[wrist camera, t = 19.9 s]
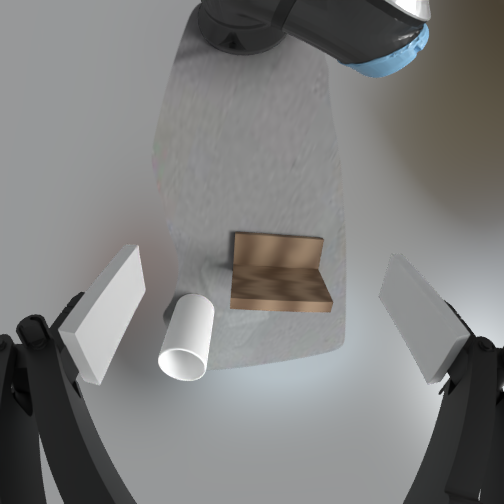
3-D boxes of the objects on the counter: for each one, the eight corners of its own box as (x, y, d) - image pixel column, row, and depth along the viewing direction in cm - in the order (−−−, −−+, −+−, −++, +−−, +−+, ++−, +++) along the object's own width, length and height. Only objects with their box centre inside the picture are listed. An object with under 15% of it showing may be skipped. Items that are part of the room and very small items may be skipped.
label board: (233, 272, 53) (230, 310, 42) (235, 231, 50) (232, 262, 39) (314, 277, 54) (329, 314, 43) (322, 237, 51) (341, 268, 40)
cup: (193, 330, 59) (181, 385, 45) (168, 305, 56) (148, 359, 42) (222, 313, 57) (216, 371, 43) (196, 286, 55) (181, 341, 40)
